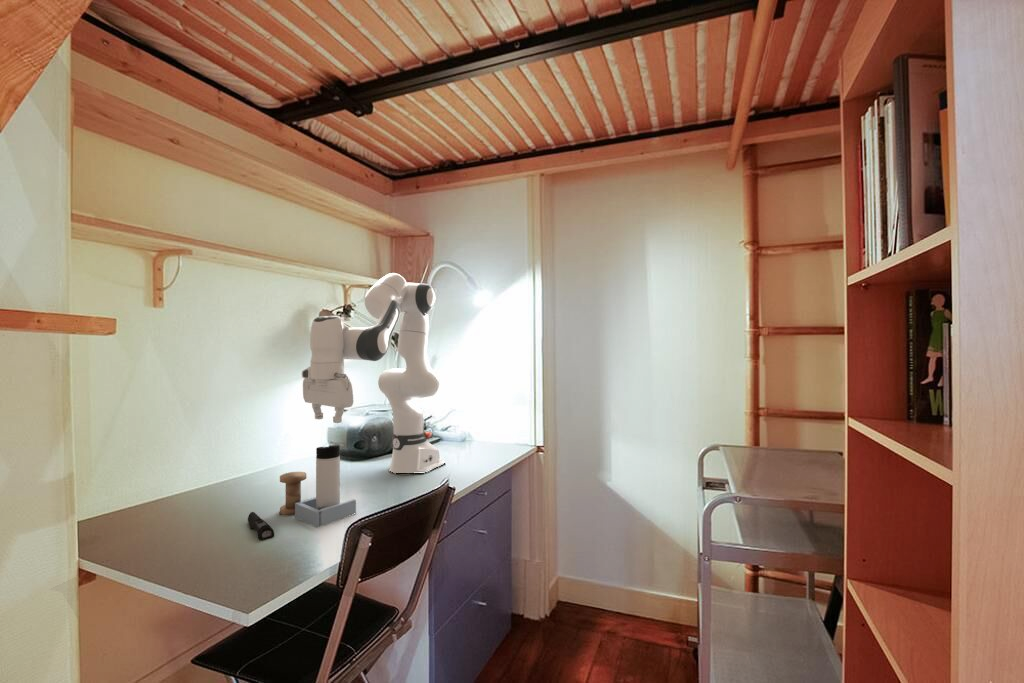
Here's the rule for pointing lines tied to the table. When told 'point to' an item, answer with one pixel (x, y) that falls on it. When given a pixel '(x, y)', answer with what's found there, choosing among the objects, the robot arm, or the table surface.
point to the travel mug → (327, 476)
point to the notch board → (323, 512)
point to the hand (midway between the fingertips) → (327, 420)
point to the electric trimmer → (260, 527)
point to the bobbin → (292, 491)
